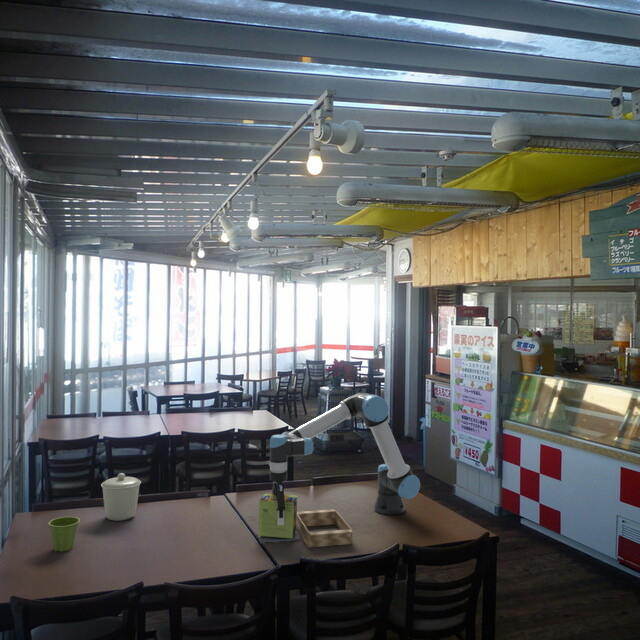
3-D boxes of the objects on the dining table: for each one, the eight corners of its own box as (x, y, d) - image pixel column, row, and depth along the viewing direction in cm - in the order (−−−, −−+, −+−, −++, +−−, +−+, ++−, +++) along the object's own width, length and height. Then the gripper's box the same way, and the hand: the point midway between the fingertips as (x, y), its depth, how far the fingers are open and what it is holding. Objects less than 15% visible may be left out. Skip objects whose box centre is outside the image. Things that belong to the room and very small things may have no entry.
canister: (92, 520, 270) (92, 475, 270) (118, 509, 287) (119, 467, 287) (122, 526, 263) (123, 480, 263) (148, 514, 280) (149, 470, 280)
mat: (294, 530, 259) (294, 528, 260) (299, 540, 248) (299, 538, 248) (256, 533, 255) (256, 531, 255) (260, 543, 244) (260, 541, 244)
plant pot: (59, 556, 228) (59, 528, 228) (41, 550, 234) (42, 522, 235) (85, 547, 238) (85, 519, 238) (68, 541, 244) (68, 514, 245)
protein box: (293, 538, 246) (294, 502, 246) (257, 536, 247) (258, 500, 247) (296, 530, 256) (297, 495, 256) (262, 527, 258) (263, 493, 258)
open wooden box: (334, 521, 271) (335, 509, 271) (353, 545, 242) (354, 531, 242) (295, 525, 267) (295, 512, 267) (309, 549, 238) (309, 535, 238)
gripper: (265, 464, 263) (265, 511, 263) (274, 478, 239) (274, 530, 239) (282, 463, 265) (281, 510, 264) (292, 477, 241) (291, 529, 241)
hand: (278, 520), depth 252 cm, fingers closed on protein box, 12 cm apart
